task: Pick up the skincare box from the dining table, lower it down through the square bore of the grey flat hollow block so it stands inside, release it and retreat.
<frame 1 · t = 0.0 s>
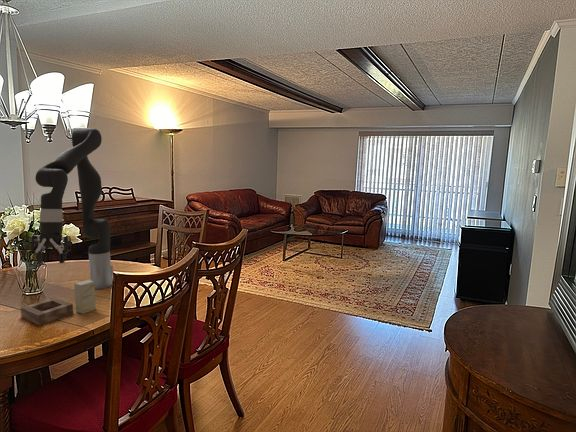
hand: (50, 262, 147), 22 cm above the table, tool pointing down, fingers open, 8 cm apart
grey flat hollow block: (47, 315, 153), on the table
skincare box: (86, 310, 158), on the table
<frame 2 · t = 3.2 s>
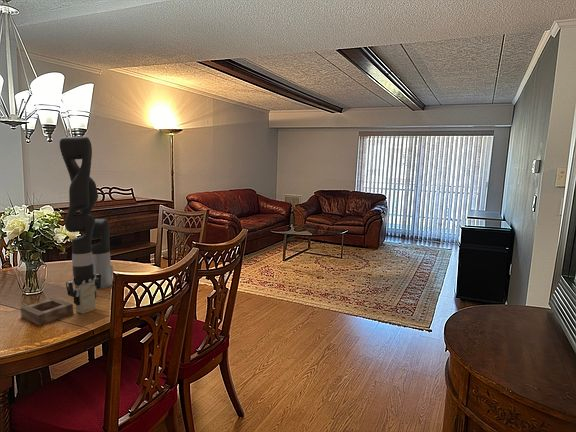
hand: (85, 302, 157), 4 cm above the table, tool pointing down, fingers closed on skincare box, 6 cm apart
skincare box: (86, 310, 158), on the table, touching gripper
everything else where it was.
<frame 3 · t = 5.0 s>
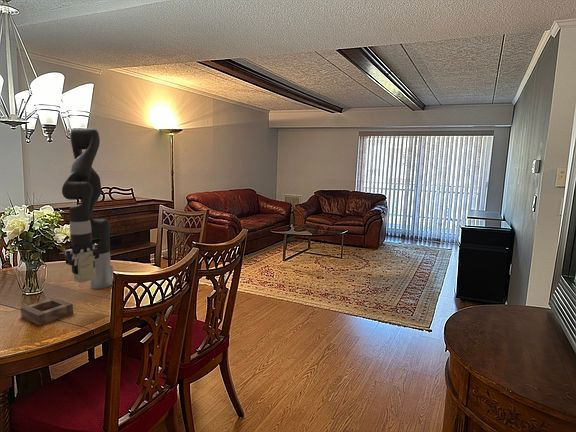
hand: (83, 271, 156), 17 cm above the table, tool pointing down, fingers closed on skincare box, 6 cm apart
skincare box: (84, 280, 156), point 13 cm above the table, touching gripper
everything else where it was.
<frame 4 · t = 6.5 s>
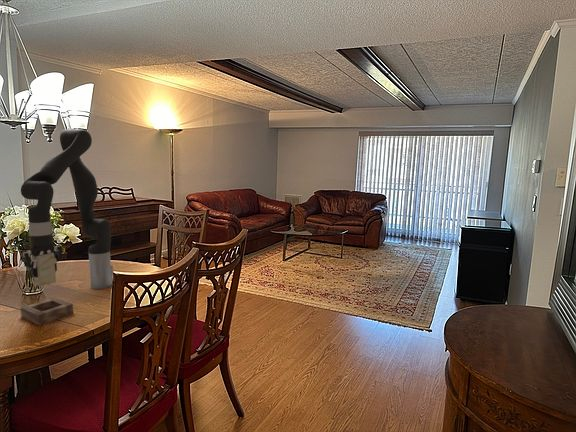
hand: (44, 274, 150), 17 cm above the table, tool pointing down, fingers closed on skincare box, 6 cm apart
skincare box: (45, 284, 151), point 13 cm above the table, touching gripper
everything else where it was.
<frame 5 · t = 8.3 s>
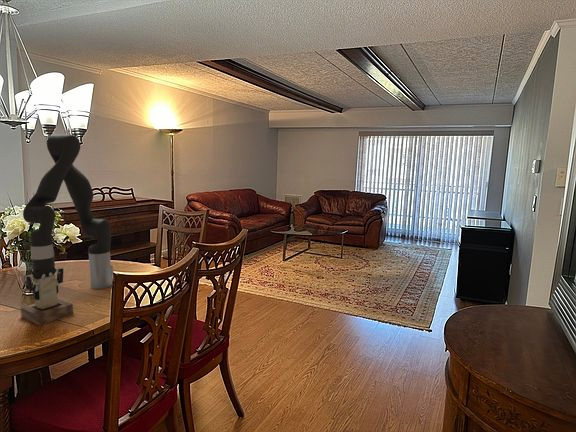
hand: (46, 296, 151), 8 cm above the table, tool pointing down, fingers closed on skincare box, 6 cm apart
skincare box: (47, 306, 152), point 4 cm above the table, touching gripper
everything else where it was.
when the fingers open (6 cm above the table, at t = 9.9 s): skincare box drops 2 cm, resting in grey flat hollow block.
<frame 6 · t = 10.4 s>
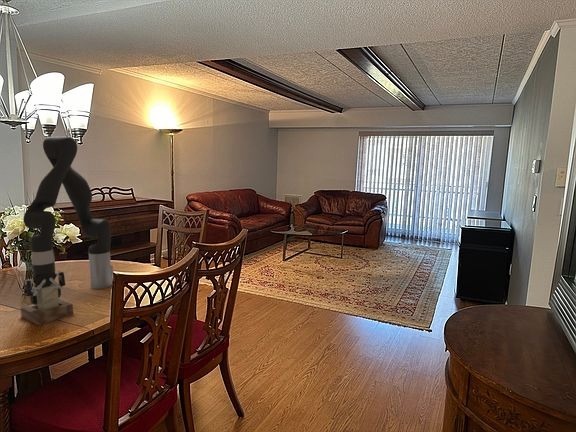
hand: (46, 300, 152), 6 cm above the table, tool pointing down, fingers open, 8 cm apart
skincare box: (49, 315, 153), resting in grey flat hollow block
everything else where it was.
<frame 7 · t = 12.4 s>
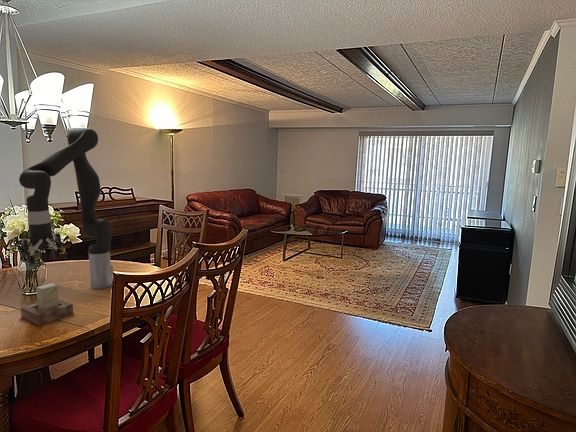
hand: (43, 261, 153), 21 cm above the table, tool pointing down, fingers open, 8 cm apart
nothing on the table moved.
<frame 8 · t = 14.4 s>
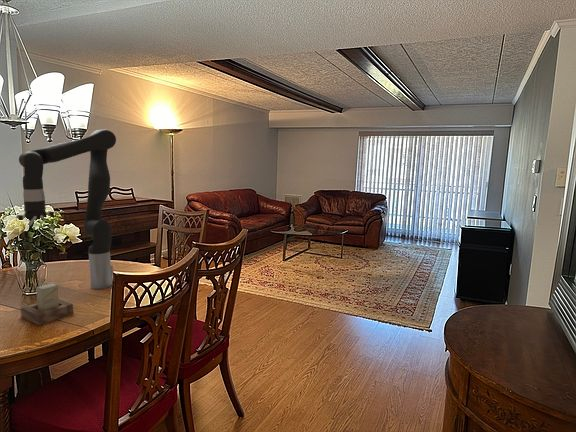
hand: (37, 237, 164), 28 cm above the table, tool pointing down, fingers open, 8 cm apart
nothing on the table moved.
at the end: skincare box 0.5 cm off-centre on the grey flat hollow block, point 0.0 cm above the grey flat hollow block's base; skincare box tilted 0°; the gripper is holding nothing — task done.
